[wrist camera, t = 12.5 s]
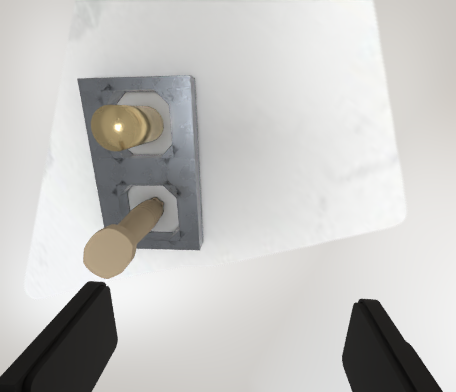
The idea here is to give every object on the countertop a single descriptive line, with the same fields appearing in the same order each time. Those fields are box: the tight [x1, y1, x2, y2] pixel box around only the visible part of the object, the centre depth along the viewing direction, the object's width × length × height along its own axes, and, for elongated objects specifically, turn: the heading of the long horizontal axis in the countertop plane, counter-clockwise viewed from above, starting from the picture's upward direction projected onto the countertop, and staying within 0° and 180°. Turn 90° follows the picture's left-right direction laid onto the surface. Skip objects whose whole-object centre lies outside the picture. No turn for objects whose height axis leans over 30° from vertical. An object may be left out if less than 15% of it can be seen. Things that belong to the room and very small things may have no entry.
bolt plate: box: [78, 75, 203, 250], centre depth 39 cm, size 25×15×3 cm, turn 1°
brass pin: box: [91, 105, 163, 151], centre depth 33 cm, size 5×5×10 cm
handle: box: [83, 197, 164, 279], centre depth 35 cm, size 5×6×15 cm
